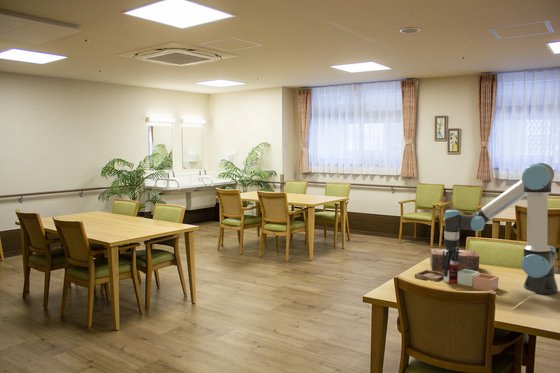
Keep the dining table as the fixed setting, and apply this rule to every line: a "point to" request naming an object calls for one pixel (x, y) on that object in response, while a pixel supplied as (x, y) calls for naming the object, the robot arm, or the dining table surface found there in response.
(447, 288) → the dining table surface
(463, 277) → the mint green open box
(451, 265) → the canned food
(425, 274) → the tray
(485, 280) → the pot
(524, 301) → the dining table surface
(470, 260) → the tissue box cover
